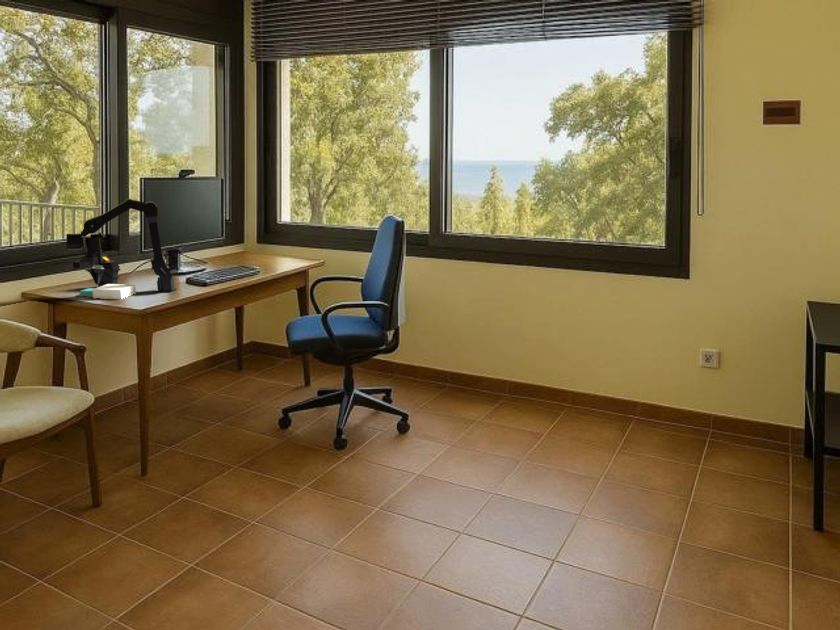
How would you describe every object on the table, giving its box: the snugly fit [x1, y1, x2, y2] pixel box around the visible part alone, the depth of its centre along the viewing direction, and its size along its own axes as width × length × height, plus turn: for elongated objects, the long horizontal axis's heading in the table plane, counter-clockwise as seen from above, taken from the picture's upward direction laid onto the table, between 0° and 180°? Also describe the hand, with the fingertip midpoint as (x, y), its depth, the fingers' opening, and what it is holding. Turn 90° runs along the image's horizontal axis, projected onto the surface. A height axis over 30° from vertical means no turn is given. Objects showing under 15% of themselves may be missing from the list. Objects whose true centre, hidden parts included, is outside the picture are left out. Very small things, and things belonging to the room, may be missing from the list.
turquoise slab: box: [79, 287, 95, 296], centre depth 325 cm, size 8×6×2 cm
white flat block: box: [92, 283, 137, 300], centre depth 323 cm, size 13×12×4 cm
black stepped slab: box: [97, 254, 121, 288], centre depth 339 cm, size 4×13×15 cm, turn 58°
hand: (97, 284), depth 323 cm, fingers closed
